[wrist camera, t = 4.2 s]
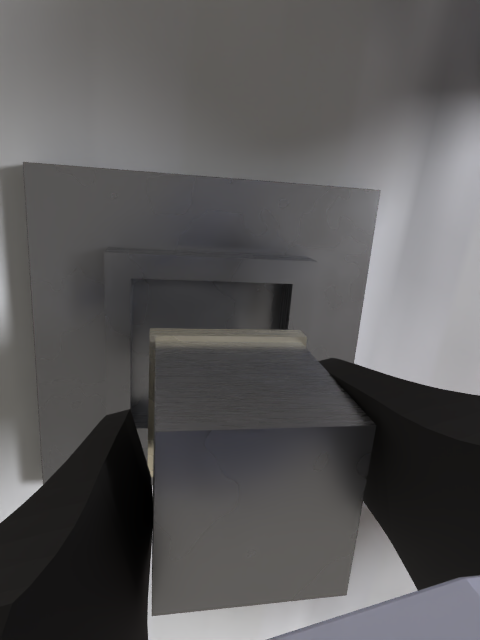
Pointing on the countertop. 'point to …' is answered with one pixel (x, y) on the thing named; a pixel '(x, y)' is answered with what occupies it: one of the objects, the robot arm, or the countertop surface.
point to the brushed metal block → (250, 470)
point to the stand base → (177, 278)
